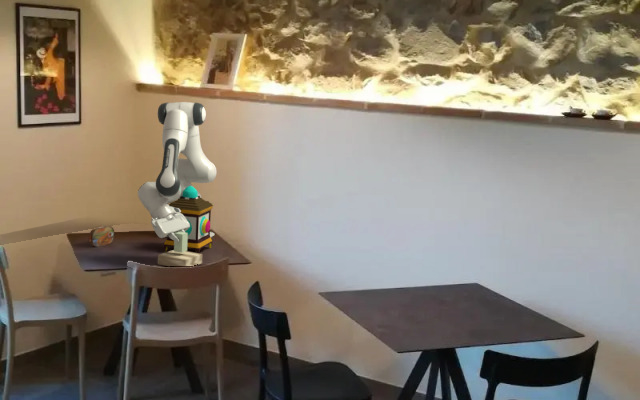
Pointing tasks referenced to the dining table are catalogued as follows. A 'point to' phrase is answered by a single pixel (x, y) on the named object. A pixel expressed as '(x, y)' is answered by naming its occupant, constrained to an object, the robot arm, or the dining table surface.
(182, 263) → the plinth
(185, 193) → the decorative lantern
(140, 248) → the dining table surface
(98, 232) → the tin
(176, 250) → the green block
